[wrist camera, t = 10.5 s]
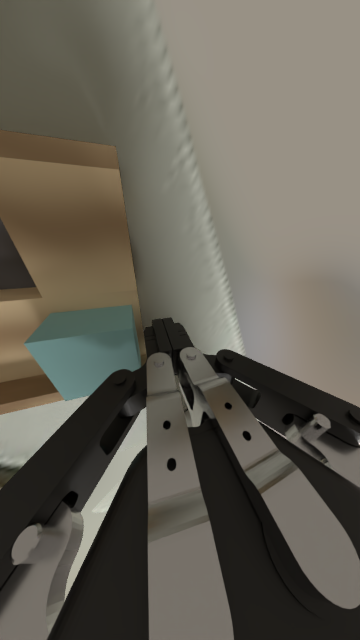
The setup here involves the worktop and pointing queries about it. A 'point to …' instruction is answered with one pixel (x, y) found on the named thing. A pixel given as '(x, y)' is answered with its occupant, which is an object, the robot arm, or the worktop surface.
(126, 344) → the block
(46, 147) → the board
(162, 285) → the worktop surface
